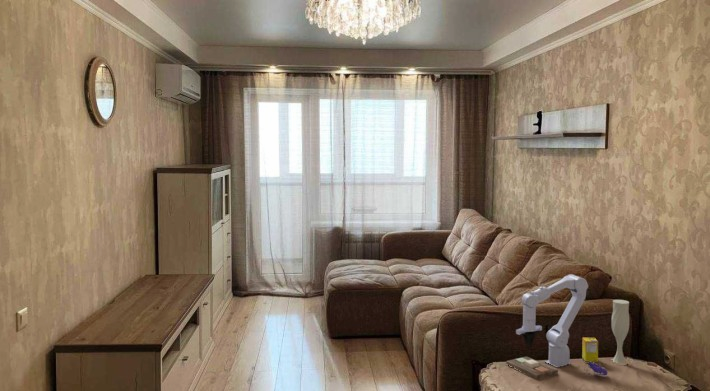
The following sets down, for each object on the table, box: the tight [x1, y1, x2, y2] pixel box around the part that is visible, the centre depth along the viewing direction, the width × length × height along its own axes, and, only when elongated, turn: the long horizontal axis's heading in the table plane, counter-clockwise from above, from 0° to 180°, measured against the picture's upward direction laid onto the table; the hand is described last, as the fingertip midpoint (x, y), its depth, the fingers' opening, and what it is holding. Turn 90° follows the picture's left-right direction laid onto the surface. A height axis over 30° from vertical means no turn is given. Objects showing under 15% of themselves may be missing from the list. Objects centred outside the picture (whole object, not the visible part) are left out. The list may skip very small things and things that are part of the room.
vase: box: [611, 299, 630, 363], centre depth 274 cm, size 9×8×30 cm
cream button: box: [525, 359, 540, 368], centre depth 267 cm, size 4×4×2 cm
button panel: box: [505, 356, 559, 381], centre depth 267 cm, size 13×20×2 cm, turn 27°
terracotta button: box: [535, 367, 549, 373], centre depth 261 cm, size 4×4×2 cm
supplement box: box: [581, 336, 599, 363], centre depth 277 cm, size 6×6×11 cm
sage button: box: [514, 357, 527, 364], centre depth 272 cm, size 4×4×2 cm
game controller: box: [583, 359, 608, 381], centre depth 259 cm, size 10×8×10 cm
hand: (528, 346), depth 270 cm, fingers closed
